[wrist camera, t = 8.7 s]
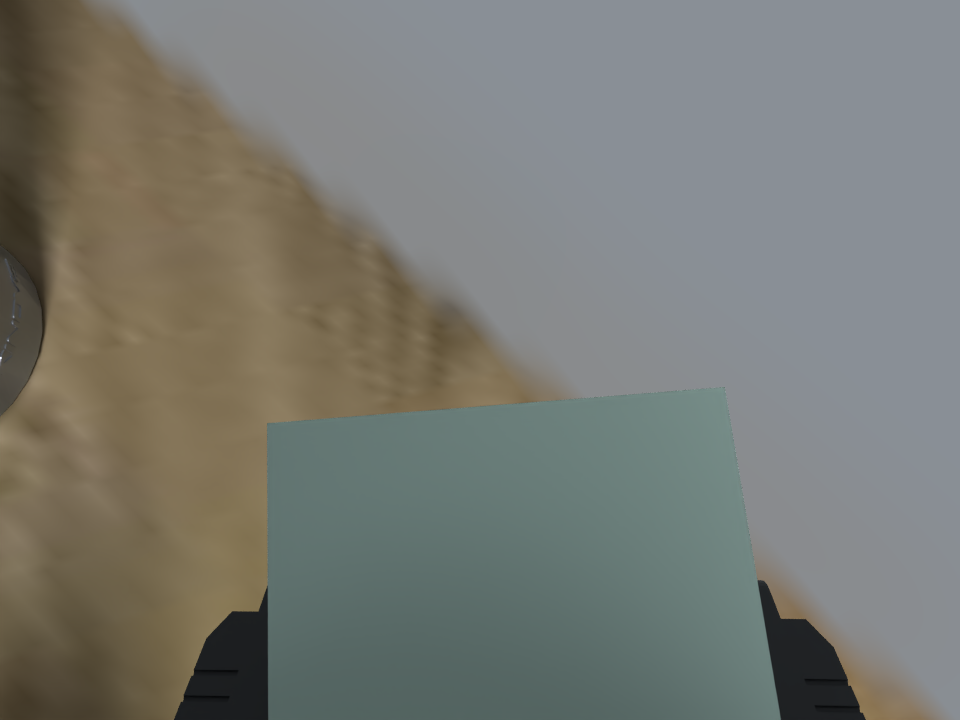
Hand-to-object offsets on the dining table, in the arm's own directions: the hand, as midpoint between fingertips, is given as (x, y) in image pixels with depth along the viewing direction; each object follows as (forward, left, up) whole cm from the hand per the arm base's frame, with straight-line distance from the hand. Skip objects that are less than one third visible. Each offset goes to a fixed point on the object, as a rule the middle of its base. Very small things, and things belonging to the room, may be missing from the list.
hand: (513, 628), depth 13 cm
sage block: (0, 0, -4) cm, 4 cm away
